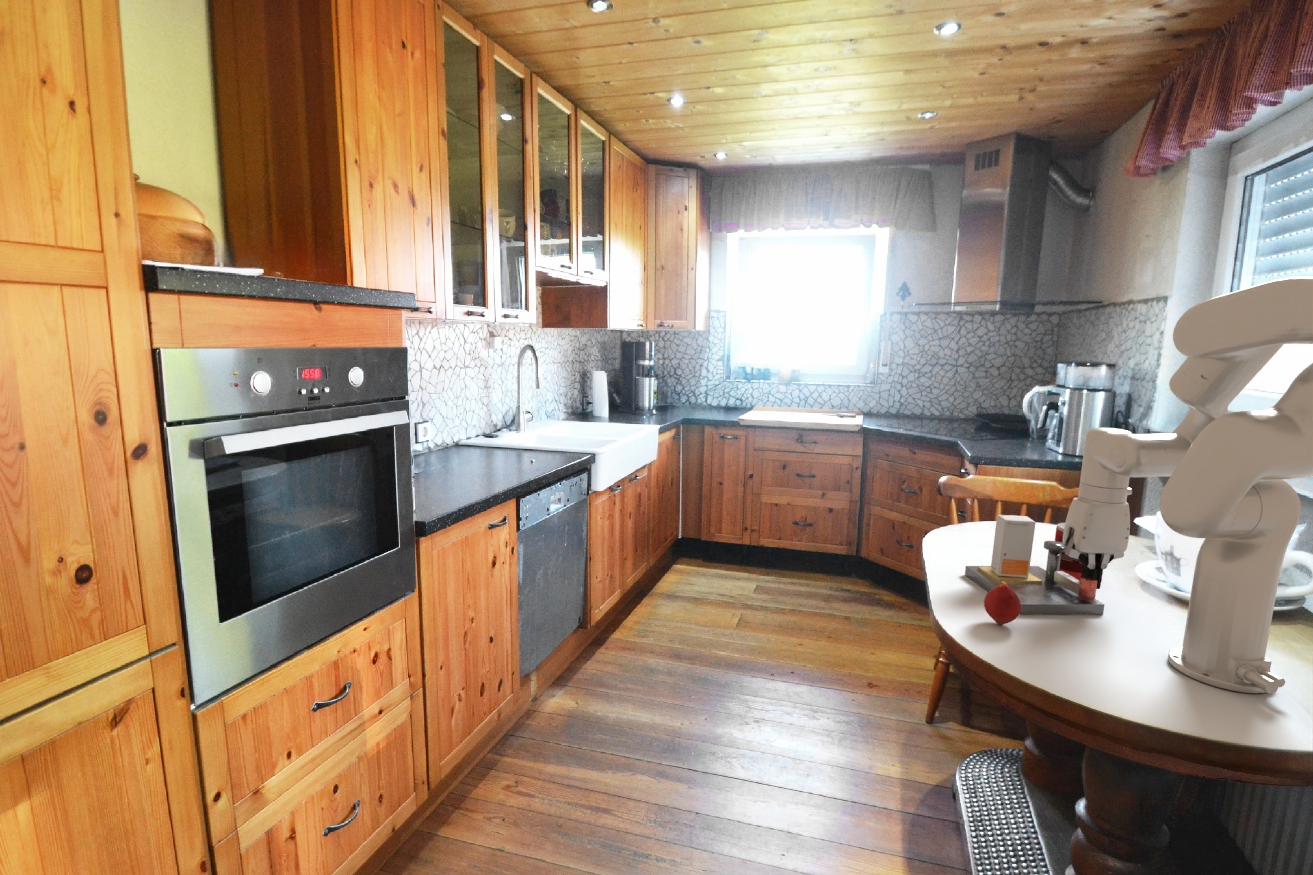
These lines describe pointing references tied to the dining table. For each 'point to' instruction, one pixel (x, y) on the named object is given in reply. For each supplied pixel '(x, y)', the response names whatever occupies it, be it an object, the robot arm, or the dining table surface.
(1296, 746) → the dining table surface
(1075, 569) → the canned food
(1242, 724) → the dining table surface
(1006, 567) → the skincare box
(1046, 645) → the dining table surface
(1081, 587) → the lever
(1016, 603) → the onion
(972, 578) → the press bed
